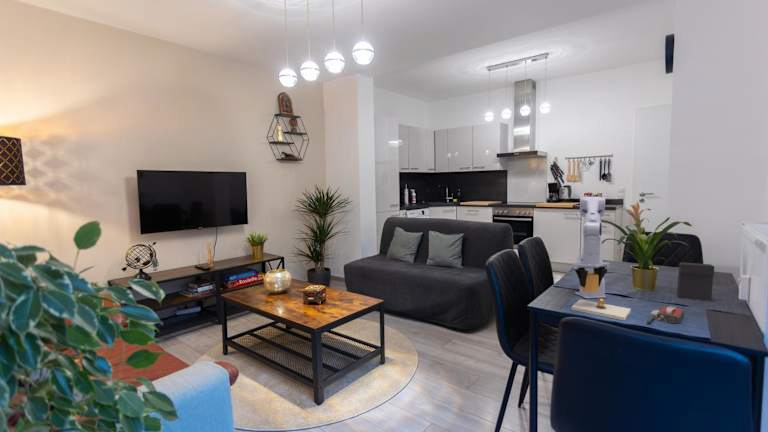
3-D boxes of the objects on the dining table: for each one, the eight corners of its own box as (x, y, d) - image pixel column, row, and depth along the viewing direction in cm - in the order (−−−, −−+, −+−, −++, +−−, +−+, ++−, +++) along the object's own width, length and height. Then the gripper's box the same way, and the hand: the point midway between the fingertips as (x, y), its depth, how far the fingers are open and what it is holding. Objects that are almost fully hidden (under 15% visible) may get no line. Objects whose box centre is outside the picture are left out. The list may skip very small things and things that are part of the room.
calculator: (708, 298, 161) (710, 264, 160) (711, 301, 157) (714, 266, 156) (676, 295, 166) (678, 261, 164) (679, 298, 162) (681, 263, 160)
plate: (571, 309, 149) (571, 298, 149) (580, 302, 158) (580, 291, 158) (624, 320, 137) (625, 308, 137) (630, 311, 146) (631, 300, 146)
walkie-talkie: (656, 310, 148) (644, 324, 135) (657, 299, 148) (645, 312, 134) (685, 316, 142) (675, 331, 128) (686, 305, 142) (675, 319, 128)
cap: (591, 287, 153) (592, 271, 153) (601, 291, 148) (602, 275, 147) (578, 288, 153) (579, 272, 152) (587, 292, 147) (588, 276, 147)
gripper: (580, 254, 144) (579, 289, 145) (615, 253, 146) (614, 288, 147) (569, 251, 151) (568, 284, 152) (602, 250, 153) (601, 283, 154)
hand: (589, 286), depth 150 cm, fingers closed on cap, 6 cm apart
